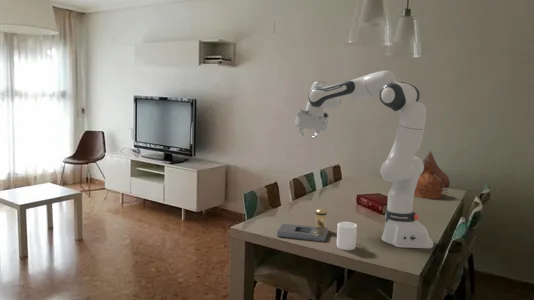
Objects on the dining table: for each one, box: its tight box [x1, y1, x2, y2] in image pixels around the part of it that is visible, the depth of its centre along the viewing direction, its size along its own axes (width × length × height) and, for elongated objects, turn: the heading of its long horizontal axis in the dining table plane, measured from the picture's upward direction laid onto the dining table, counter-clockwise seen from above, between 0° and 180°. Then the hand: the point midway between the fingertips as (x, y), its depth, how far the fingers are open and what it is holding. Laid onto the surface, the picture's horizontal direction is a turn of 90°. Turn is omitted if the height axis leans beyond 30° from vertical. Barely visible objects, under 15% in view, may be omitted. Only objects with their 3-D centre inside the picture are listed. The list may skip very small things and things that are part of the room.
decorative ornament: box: [414, 151, 450, 200], centre depth 286 cm, size 26×19×30 cm
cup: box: [336, 221, 358, 251], centre depth 192 cm, size 8×12×10 cm
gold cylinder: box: [314, 208, 328, 228], centre depth 212 cm, size 5×5×10 cm
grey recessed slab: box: [276, 223, 329, 242], centre depth 205 cm, size 22×12×2 cm, turn 76°
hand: (307, 137), depth 232 cm, fingers open, 8 cm apart
